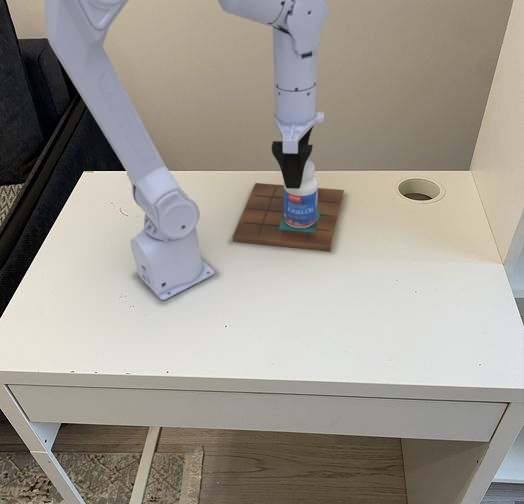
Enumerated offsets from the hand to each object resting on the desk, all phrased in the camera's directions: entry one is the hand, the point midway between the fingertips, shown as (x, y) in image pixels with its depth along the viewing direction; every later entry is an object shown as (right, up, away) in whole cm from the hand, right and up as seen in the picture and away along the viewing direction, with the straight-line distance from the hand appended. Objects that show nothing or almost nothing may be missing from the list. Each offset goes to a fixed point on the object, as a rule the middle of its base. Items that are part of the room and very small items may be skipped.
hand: (295, 173), depth 84 cm
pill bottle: (+1, -6, +7) cm, 9 cm away
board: (0, -5, +9) cm, 10 cm away
